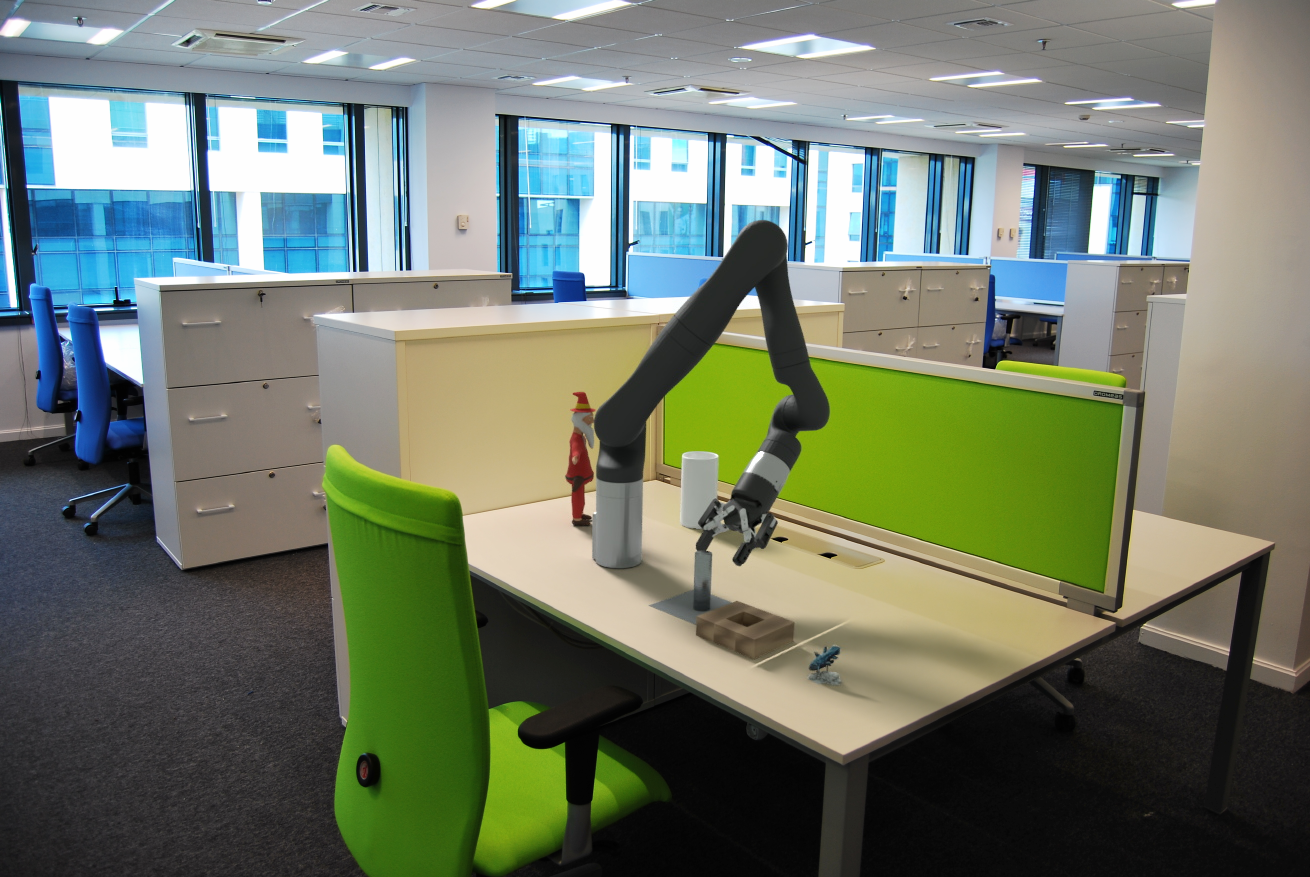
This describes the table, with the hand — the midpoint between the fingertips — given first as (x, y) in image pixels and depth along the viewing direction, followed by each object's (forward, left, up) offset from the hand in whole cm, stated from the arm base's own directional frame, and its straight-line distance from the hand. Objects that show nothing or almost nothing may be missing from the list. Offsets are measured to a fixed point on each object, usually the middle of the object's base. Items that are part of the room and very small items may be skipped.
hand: (717, 557), depth 160 cm
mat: (0, -3, -9) cm, 9 cm away
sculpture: (+30, -10, -9) cm, 33 cm away
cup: (-35, +33, -9) cm, 49 cm away
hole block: (+13, -7, -9) cm, 17 cm away
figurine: (-53, +14, -9) cm, 56 cm away
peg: (0, -4, -8) cm, 9 cm away
